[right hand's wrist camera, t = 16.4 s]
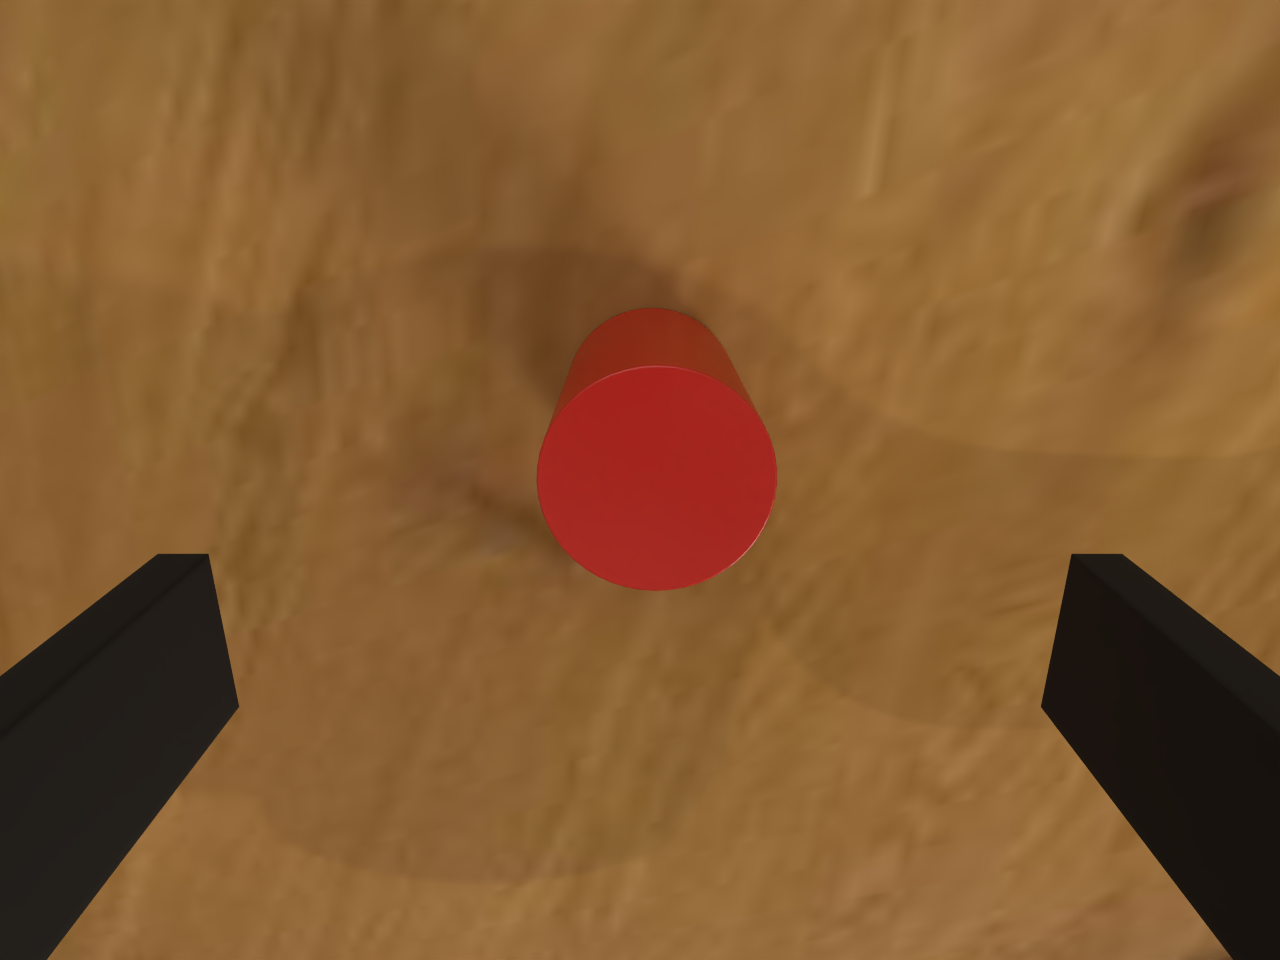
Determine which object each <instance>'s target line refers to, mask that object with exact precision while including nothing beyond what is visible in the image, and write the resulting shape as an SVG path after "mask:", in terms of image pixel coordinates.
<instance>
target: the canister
mask: <svg viewBox="0 0 1280 960" xmlns="http://www.w3.org/2000/svg"><path fill="white" fill-rule="evenodd" d="M776 487H777V466H776V459H775V453H774V450H773V446H772V443H771V439H770V437H769V435H768V433H767V430H766V428H765V426H764V424H763V422H762V420H761V418H760V416H759V414H758V413H757V411H756V409H755V407H754V405H753V403H752V401H751V399H750V397H749V395H748V393H747V391H746V390H745V388H744V386H743V384H742V382H741V380H740V378H739V376H738V374H737V372H736V370H735V368H734V367H733V365H732V363H731V361H730V359H729V357H728V355H727V353H726V351H725V350H724V348H723V346H722V345H721V343H720V342H719V341H718V339H717V338H716V337H715V336H714V335H713V334H712V333H711V332H710V331H709V330H708V329H707V328H706V327H705V326H703V325H702V324H700V323H699V322H698V321H696V320H694V319H692V318H690V317H688V316H687V315H684V314H681V313H678V312H676V311H671V310H667V309H658V308H645V309H637V310H632V311H628V312H625V313H622V314H619V315H617V316H615V317H613V318H611V319H609V320H608V321H606V322H605V323H603V324H602V325H600V326H599V327H598V328H597V329H595V330H594V331H593V332H592V333H591V334H590V335H589V336H588V338H587V339H586V340H585V341H584V342H583V344H582V345H581V347H580V348H579V350H578V352H577V354H576V356H575V358H574V360H573V363H572V365H571V368H570V371H569V373H568V376H567V379H566V381H565V384H564V387H563V390H562V392H561V395H560V398H559V400H558V403H557V406H556V408H555V411H554V414H553V416H552V419H551V422H550V425H549V427H548V430H547V433H546V435H545V438H544V441H543V444H542V447H541V450H540V454H539V460H538V466H537V489H538V498H539V502H540V506H541V510H542V513H543V515H544V518H545V520H546V523H547V525H548V527H549V529H550V530H551V532H552V534H553V536H554V537H555V539H556V540H557V541H558V543H559V544H560V545H561V547H562V548H563V549H564V550H565V551H566V552H567V553H568V554H569V555H570V556H571V557H572V558H573V559H574V560H575V561H576V562H577V563H579V564H580V565H581V566H582V567H584V568H585V569H586V570H588V571H590V572H591V573H593V574H595V575H596V576H598V577H600V578H603V579H605V580H607V581H609V582H611V583H615V584H618V585H621V586H624V587H629V588H634V589H639V590H653V591H658V590H672V589H678V588H684V587H688V586H691V585H694V584H698V583H701V582H703V581H705V580H708V579H710V578H712V577H714V576H716V575H718V574H719V573H721V572H723V571H724V570H726V569H727V568H729V567H730V566H731V565H733V564H734V563H735V562H737V561H738V560H739V559H740V558H741V557H742V556H743V555H744V554H745V553H746V552H747V551H748V550H749V549H750V548H751V546H752V545H753V544H754V542H755V541H756V540H757V539H758V537H759V535H760V534H761V532H762V530H763V529H764V527H765V525H766V523H767V521H768V518H769V516H770V514H771V511H772V507H773V504H774V500H775V494H776Z"/></svg>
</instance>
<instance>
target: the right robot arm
mask: <svg viewBox="0 0 1280 960" xmlns="http://www.w3.org/2000/svg"><path fill="white" fill-rule="evenodd" d="M238 708H239V704H238V699H237V694H236V689H235V684H234V679H233V674H232V669H231V664H230V659H229V654H228V649H227V644H226V639H225V634H224V629H223V624H222V619H221V614H220V609H219V604H218V599H217V595H216V590H215V585H214V580H213V575H212V570H211V565H210V560H209V555H208V554H157V555H156V556H155V557H153V558H152V559H151V560H150V561H148V562H147V563H146V564H144V565H143V566H142V567H141V568H139V569H138V570H137V571H135V572H134V573H133V574H132V575H130V576H129V577H128V578H126V579H125V580H124V581H122V582H121V583H120V584H119V585H117V586H116V587H115V588H113V589H112V590H111V591H110V592H108V593H107V594H106V595H104V596H103V597H102V598H101V599H99V600H98V601H97V602H95V603H94V604H93V605H92V606H90V607H89V608H88V609H86V610H85V611H84V612H83V613H81V614H80V615H79V616H77V617H76V618H75V619H74V620H72V621H71V622H70V623H68V624H67V625H66V626H65V627H63V628H62V629H61V630H59V631H58V632H57V633H56V634H54V635H53V636H52V637H50V638H49V639H48V640H47V641H45V642H44V643H43V644H41V645H40V646H39V647H37V648H36V649H35V650H34V651H32V652H31V653H30V654H28V655H27V656H26V657H25V658H23V659H22V660H21V661H19V662H18V663H17V664H16V665H14V666H13V667H12V668H10V669H9V670H8V671H7V672H5V673H4V674H3V675H1V676H0V960H47V959H48V957H49V956H50V955H51V953H52V952H53V951H54V949H55V948H56V947H57V945H58V944H59V943H60V942H61V940H62V939H63V938H64V936H65V935H66V934H67V932H68V931H69V930H70V928H71V927H72V926H73V924H74V923H75V922H76V921H77V919H78V918H79V917H80V915H81V914H82V913H83V911H84V910H85V909H86V907H87V906H88V905H89V903H90V902H91V901H92V899H93V898H94V897H95V896H96V894H97V893H98V892H99V890H100V889H101V888H102V886H103V885H104V884H105V882H106V881H107V880H108V878H109V877H110V876H111V874H112V873H113V872H114V871H115V869H116V868H117V867H118V865H119V864H120V863H121V861H122V860H123V859H124V857H125V856H126V855H127V853H128V852H129V851H130V850H131V848H132V847H133V846H134V844H135V843H136V842H137V840H138V839H139V838H140V836H141V835H142V834H143V832H144V831H145V830H146V828H147V827H148V826H149V825H150V823H151V822H152V821H153V819H154V818H155V817H156V815H157V814H158V813H159V811H160V810H161V809H162V807H163V806H164V805H165V803H166V802H167V801H168V800H169V798H170V797H171V796H172V794H173V793H174V792H175V790H176V789H177V788H178V786H179V785H180V784H181V782H182V781H183V780H184V779H185V777H186V776H187V775H188V773H189V772H190V771H191V769H192V768H193V767H194V765H195V764H196V763H197V761H198V760H199V759H200V757H201V756H202V755H203V754H204V752H205V751H206V750H207V748H208V747H209V746H210V744H211V743H212V742H213V740H214V739H215V738H216V736H217V735H218V734H219V733H220V731H221V730H222V729H223V727H224V726H225V725H226V723H227V722H228V721H229V719H230V718H231V717H232V715H233V714H234V713H235V711H236V710H237V709H238ZM1041 708H1042V709H1043V710H1044V711H1045V713H1046V714H1047V715H1048V717H1049V718H1050V719H1051V721H1052V722H1053V723H1054V725H1055V726H1056V727H1057V729H1058V730H1059V731H1060V733H1061V734H1062V735H1063V736H1064V738H1065V739H1066V740H1067V742H1068V743H1069V744H1070V746H1071V747H1072V748H1073V750H1074V751H1075V752H1076V754H1077V755H1078V756H1079V757H1080V759H1081V760H1082V761H1083V763H1084V764H1085V765H1086V767H1087V768H1088V769H1089V771H1090V772H1091V773H1092V775H1093V776H1094V777H1095V779H1096V780H1097V781H1098V782H1099V784H1100V785H1101V786H1102V788H1103V789H1104V790H1105V792H1106V793H1107V794H1108V796H1109V797H1110V798H1111V800H1112V801H1113V802H1114V803H1115V805H1116V806H1117V807H1118V809H1119V810H1120V811H1121V813H1122V814H1123V815H1124V817H1125V818H1126V819H1127V821H1128V822H1129V823H1130V825H1131V826H1132V827H1133V828H1134V830H1135V831H1136V832H1137V834H1138V835H1139V836H1140V838H1141V839H1142V840H1143V842H1144V843H1145V844H1146V846H1147V847H1148V848H1149V850H1150V851H1151V852H1152V853H1153V855H1154V856H1155V857H1156V859H1157V860H1158V861H1159V863H1160V864H1161V865H1162V867H1163V868H1164V869H1165V871H1166V872H1167V873H1168V874H1169V876H1170V877H1171V878H1172V880H1173V881H1174V882H1175V884H1176V885H1177V886H1178V888H1179V889H1180V890H1181V892H1182V893H1183V894H1184V896H1185V897H1186V898H1187V899H1188V901H1189V902H1190V903H1191V905H1192V906H1193V907H1194V909H1195V910H1196V911H1197V913H1198V914H1199V915H1200V917H1201V918H1202V919H1203V921H1204V922H1205V923H1206V924H1207V926H1208V927H1209V928H1210V930H1211V931H1212V932H1213V934H1214V935H1215V936H1216V938H1217V939H1218V940H1219V942H1220V943H1221V944H1222V945H1223V947H1224V948H1225V949H1226V951H1227V952H1228V953H1229V955H1230V956H1231V957H1232V959H1233V960H1280V676H1279V675H1277V674H1276V673H1275V672H1273V671H1272V670H1271V669H1270V668H1268V667H1267V666H1266V665H1264V664H1263V663H1262V662H1261V661H1259V660H1258V659H1257V658H1255V657H1254V656H1253V655H1252V654H1250V653H1249V652H1248V651H1246V650H1245V649H1244V648H1243V647H1241V646H1240V645H1239V644H1237V643H1236V642H1235V641H1233V640H1232V639H1231V638H1230V637H1228V636H1227V635H1226V634H1224V633H1223V632H1222V631H1221V630H1219V629H1218V628H1217V627H1215V626H1214V625H1213V624H1212V623H1210V622H1209V621H1208V620H1206V619H1205V618H1204V617H1203V616H1201V615H1200V614H1199V613H1197V612H1196V611H1195V610H1194V609H1192V608H1191V607H1190V606H1188V605H1187V604H1186V603H1185V602H1183V601H1182V600H1181V599H1179V598H1178V597H1177V596H1176V595H1174V594H1173V593H1172V592H1170V591H1169V590H1168V589H1167V588H1165V587H1164V586H1163V585H1161V584H1160V583H1159V582H1158V581H1156V580H1155V579H1154V578H1152V577H1151V576H1150V575H1148V574H1147V573H1146V572H1145V571H1143V570H1142V569H1141V568H1139V567H1138V566H1137V565H1136V564H1134V563H1133V562H1132V561H1130V560H1129V559H1128V558H1127V557H1125V556H1124V555H1123V554H1072V555H1071V560H1070V565H1069V570H1068V575H1067V580H1066V585H1065V590H1064V595H1063V599H1062V604H1061V609H1060V614H1059V619H1058V624H1057V629H1056V634H1055V639H1054V644H1053V649H1052V654H1051V659H1050V664H1049V669H1048V674H1047V679H1046V684H1045V689H1044V694H1043V699H1042V704H1041Z"/></svg>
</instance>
